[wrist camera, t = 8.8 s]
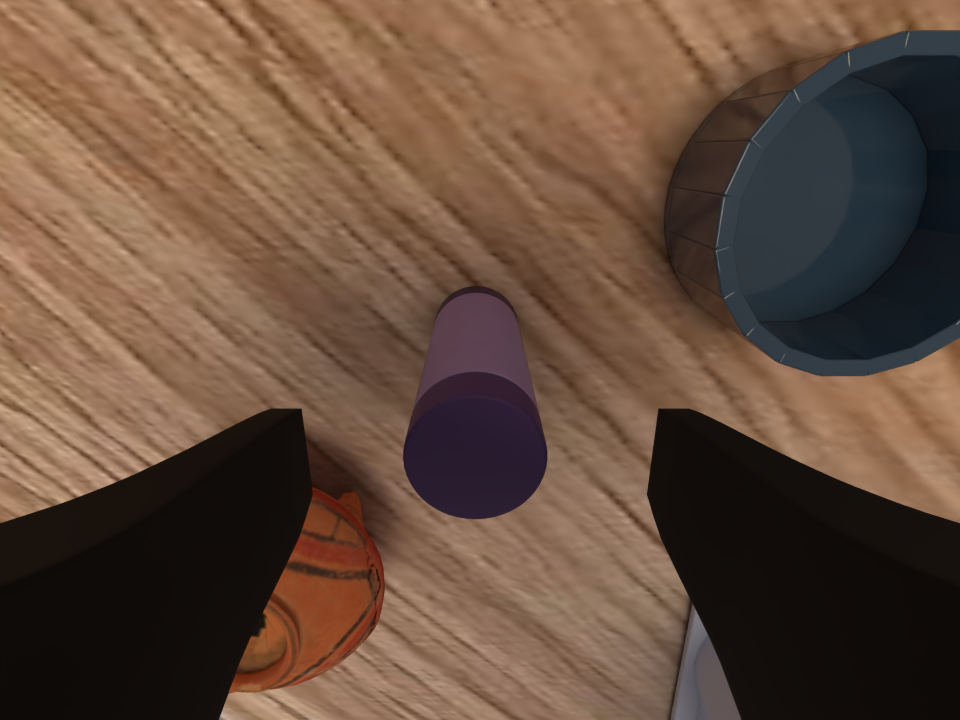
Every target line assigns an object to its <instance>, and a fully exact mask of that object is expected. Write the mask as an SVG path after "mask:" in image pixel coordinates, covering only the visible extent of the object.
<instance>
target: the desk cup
mask: <svg viewBox="0 0 960 720" xmlns="http://www.w3.org/2000/svg"><path fill="white" fill-rule="evenodd" d="M665 238H666V245H667V250H668V255H669V259H670V261H671V264H672V267H673V270H674V272H675V274H676V276H677V278H678V280H679V281H680V283H681V285H682V287H683V288H684V289H685V291H686V292H687V293H688V295H689V296H690V297H691V298H692V299H693V300H694V301H695V302H696V303H697V304H698V305H699V306H700V307H701V308H702V309H704V310H705V311H707V312H708V313H709V314H710V315H712V316H713V317H714V318H716V319H717V320H718V321H719V322H721V323H722V324H723V325H725V326H726V327H727V328H729V329H730V330H732V331H733V332H735V333H736V334H737V335H739V336H740V337H742V338H743V339H744V340H746V341H747V342H749V343H750V344H751V345H753V346H754V347H756V348H757V349H759V350H760V351H761V352H763V353H764V354H766V355H767V356H768V357H770V358H771V359H773V360H774V361H776V362H778V363H780V364H783V365H786V366H789V367H792V368H795V369H799V370H802V371H805V372H808V373H811V374H814V375H819V376H867V375H872V374H876V373H879V372H883V371H887V370H890V369H894V368H897V367H901V366H905V365H908V364H912V363H915V361H919V360H921V359H923V358H925V357H927V356H928V355H930V354H932V353H934V352H936V351H937V350H939V349H941V348H943V347H945V346H946V345H948V344H950V343H952V342H954V341H955V340H957V339H959V338H960V30H907V31H901V32H898V33H894V34H891V35H887V36H884V37H880V38H876V39H873V40H869V41H866V42H862V43H859V44H855V45H852V46H848V47H844V48H841V49H837V50H834V51H830V52H827V53H823V54H820V55H816V56H812V57H810V58H807V59H804V60H801V61H798V62H795V63H791V64H788V65H785V66H783V67H780V68H777V69H774V70H771V71H769V72H767V73H765V74H763V75H761V76H759V77H757V78H755V79H753V80H751V81H750V82H748V83H747V84H745V85H744V86H742V87H741V88H739V89H738V90H736V91H735V92H734V93H733V94H731V95H730V96H729V97H728V98H727V99H725V100H724V101H723V102H722V103H721V104H720V105H718V107H717V108H716V109H715V110H714V111H713V112H712V113H711V114H710V115H709V116H708V117H707V118H706V119H705V120H704V122H703V123H702V124H701V126H700V127H699V128H698V130H697V131H696V132H695V134H694V135H693V136H692V138H691V140H690V142H689V143H688V145H687V147H686V148H685V150H684V152H683V153H682V156H681V158H680V160H679V162H678V165H677V167H676V169H675V171H674V175H673V178H672V181H671V184H670V187H669V192H668V197H667V202H666V209H665Z"/></svg>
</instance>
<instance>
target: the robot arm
mask: <svg viewBox="0 0 960 720" xmlns="http://www.w3.org/2000/svg"><path fill="white" fill-rule="evenodd" d="M312 496H313V491H312V483H311V476H310V469H309V461H308V454H307V446H306V439H305V431H304V424H303V416H302V409H269V410H266V411H263V412H261V413H258V414H256V415H254V416H252V417H250V418H248V419H246V420H244V421H242V422H240V423H238V424H236V425H234V426H232V427H230V428H228V429H226V430H224V431H222V432H220V433H218V434H216V435H214V436H212V437H210V438H209V439H207V440H205V441H203V442H201V443H199V444H197V445H195V446H193V447H191V448H189V449H187V450H185V451H183V452H181V453H179V454H177V455H175V456H172V457H170V458H168V459H166V460H164V461H162V462H160V463H158V464H156V465H153V466H151V467H149V468H147V469H145V470H143V471H141V472H139V473H137V474H134V475H132V476H130V477H127V478H125V479H123V480H120V481H118V482H116V483H113V484H111V485H108V486H106V487H103V488H101V489H98V490H96V491H93V492H91V493H88V494H85V495H83V496H80V497H78V498H75V499H72V500H70V501H67V502H64V503H61V504H59V505H56V506H53V507H49V508H46V509H43V510H40V511H37V512H34V513H31V514H28V515H25V516H22V517H19V518H15V519H12V520H9V521H6V522H3V523H0V720H219V718H220V715H221V712H222V709H223V707H224V704H225V701H226V699H227V696H228V693H229V690H230V688H231V685H232V682H233V680H234V677H235V674H236V672H237V669H238V666H239V663H240V661H241V659H242V656H243V654H244V652H245V650H246V647H247V645H248V643H249V640H250V638H251V636H252V634H253V632H254V630H255V628H256V626H257V624H258V622H259V620H260V618H261V616H262V614H263V612H264V610H265V608H266V606H267V603H268V601H269V599H270V597H271V595H272V593H273V591H274V589H275V587H276V585H277V583H278V581H279V579H280V577H281V575H282V573H283V571H284V569H285V567H286V565H287V563H288V560H289V558H290V556H291V554H292V552H293V550H294V548H295V546H296V544H297V541H298V539H299V537H300V534H301V531H302V528H303V525H304V522H305V519H306V516H307V513H308V509H309V506H310V503H311V499H312ZM647 496H648V499H649V503H650V506H651V509H652V513H653V516H654V519H655V522H656V525H657V528H658V531H659V534H660V537H661V539H662V541H663V544H664V546H665V548H666V550H667V552H668V554H669V556H670V558H671V560H672V563H673V565H674V567H675V569H676V571H677V573H678V575H679V577H680V579H681V581H682V583H683V585H684V587H685V589H686V591H687V593H688V595H689V597H690V599H691V601H692V608H691V613H690V619H689V624H688V629H687V635H686V640H685V645H684V650H683V656H682V661H681V666H680V671H679V677H678V682H677V687H676V693H675V698H674V703H673V708H672V714H671V719H670V720H960V523H957V522H954V521H951V520H948V519H944V518H941V517H938V516H935V515H932V514H928V513H925V512H922V511H919V510H917V509H914V508H911V507H908V506H905V505H902V504H899V503H896V502H894V501H891V500H889V499H886V498H883V497H881V496H878V495H875V494H873V493H870V492H868V491H865V490H862V489H860V488H857V487H854V486H852V485H850V484H847V483H845V482H842V481H840V480H838V479H835V478H833V477H831V476H829V475H826V474H824V473H822V472H820V471H818V470H815V469H813V468H811V467H809V466H807V465H804V464H802V463H800V462H798V461H796V460H794V459H792V458H790V457H788V456H785V455H783V454H781V453H779V452H777V451H775V450H773V449H771V448H769V447H767V446H765V445H763V444H761V443H760V442H758V441H756V440H754V439H752V438H750V437H748V436H746V435H744V434H742V433H740V432H738V431H736V430H734V429H732V428H730V427H729V426H727V425H725V424H723V423H721V422H719V421H717V420H715V419H713V418H711V417H708V416H706V415H704V414H702V413H699V412H697V411H694V410H691V409H658V416H657V424H656V431H655V439H654V446H653V454H652V461H651V469H650V476H649V483H648V491H647Z"/></svg>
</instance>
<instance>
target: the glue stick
mask: <svg viewBox="0 0 960 720" xmlns="http://www.w3.org/2000/svg"><path fill="white" fill-rule="evenodd" d="M403 461H404V468H405V471H406V475H407V477H408V479H409V481H410V483H411V485H412V486H413V488H414V490H415V491H416V492H417V493H418V495H419V496H420V497H421V498H422V499H423V500H424V501H426V502H427V503H428V504H429V505H431V506H432V507H434V508H435V509H437V510H439V511H441V512H443V513H446V514H448V515H452V516H455V517H459V518H466V519H485V518H491V517H496V516H499V515H502V514H505V513H507V512H510V511H512V510H513V509H515V508H517V507H519V506H520V505H521V504H523V503H524V502H525V501H526V500H527V499H528V498H530V497H531V495H532V494H533V493H534V492H535V491H536V489H537V488H538V486H539V484H540V483H541V481H542V478H543V476H544V473H545V470H546V466H547V447H546V441H545V437H544V433H543V428H542V424H541V420H540V416H539V411H538V407H537V403H536V398H535V394H534V390H533V385H532V381H531V377H530V373H529V368H528V364H527V360H526V355H525V351H524V347H523V342H522V338H521V334H520V330H519V325H518V321H517V317H516V314H515V311H514V309H513V307H512V305H511V304H510V302H509V301H508V300H507V299H506V298H505V297H504V296H502V295H501V294H500V293H498V292H496V291H494V290H492V289H489V288H485V287H468V288H464V289H461V290H459V291H457V292H455V293H453V294H452V295H450V296H449V297H448V298H447V299H446V300H445V301H444V302H443V304H442V305H441V307H440V309H439V311H438V313H437V316H436V320H435V324H434V328H433V332H432V336H431V340H430V344H429V348H428V352H427V356H426V360H425V364H424V368H423V372H422V376H421V380H420V384H419V388H418V392H417V396H416V400H415V404H414V408H413V412H412V416H411V420H410V424H409V428H408V432H407V436H406V440H405V444H404V450H403Z"/></svg>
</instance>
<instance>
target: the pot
mask: <svg viewBox="0 0 960 720" xmlns="http://www.w3.org/2000/svg"><path fill="white" fill-rule="evenodd" d="M312 491H313V496H312V499H311V503H310V506H309V509H308V513H307V516H306V519H305V522H304V525H303V528H302V531H301V534H300V537H299V539H298V541H297V544H296V546H295V548H294V550H293V552H292V554H291V556H290V558H289V560H288V563H287V565H286V567H285V569H284V571H283V573H282V575H281V577H280V579H279V581H278V583H277V585H276V587H275V589H274V591H273V593H272V595H271V597H270V599H269V601H268V603H267V606H266V608H265V610H264V612H263V614H262V616H261V618H260V620H259V622H258V624H257V626H256V628H255V630H254V632H253V634H252V636H251V638H250V640H249V643H248V645H247V647H246V650H245V652H244V654H243V656H242V659H241V661H240V663H239V666H238V669H237V672H236V674H235V677H234V680H233V682H232V685H231V688H230V690H229V693H234V692H247V693H248V692H261V691H265V690H269V689H278V688H283V687H288V686H292V685H296V684H299V683H302V682H305V681H307V680H310V679H312V678H314V677H316V676H318V675H320V674H322V673H324V672H326V671H328V670H330V669H331V668H333V667H335V666H336V665H338V664H339V663H341V662H342V661H343V660H344V659H346V658H347V657H348V656H349V655H350V654H352V653H353V652H354V651H355V650H356V649H357V648H358V647H359V646H360V645H361V643H363V642H364V640H366V639H367V638H368V637H369V635H370V634H371V633H372V632H373V630H374V629H375V627H376V625H377V622H378V620H379V617H380V614H381V610H382V604H383V598H384V591H385V584H384V570H383V564H382V560H381V557H380V554H379V552H378V550H377V548H376V546H375V544H374V542H373V541H372V539H371V538H370V536H369V535H368V533H367V532H366V530H365V529H364V523H363V518H362V512H361V503H360V499H359V496H358V494H357V493H356V492H354V491H353V492H350V493H343V495H342V496H341V498H339V499H338V500H336V499H334V498H332V497H331V496H329V495H327V494H326V493H324V492H322V491H320V490H318V489H316V488H314V487H312ZM229 693H228V694H229Z"/></svg>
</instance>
